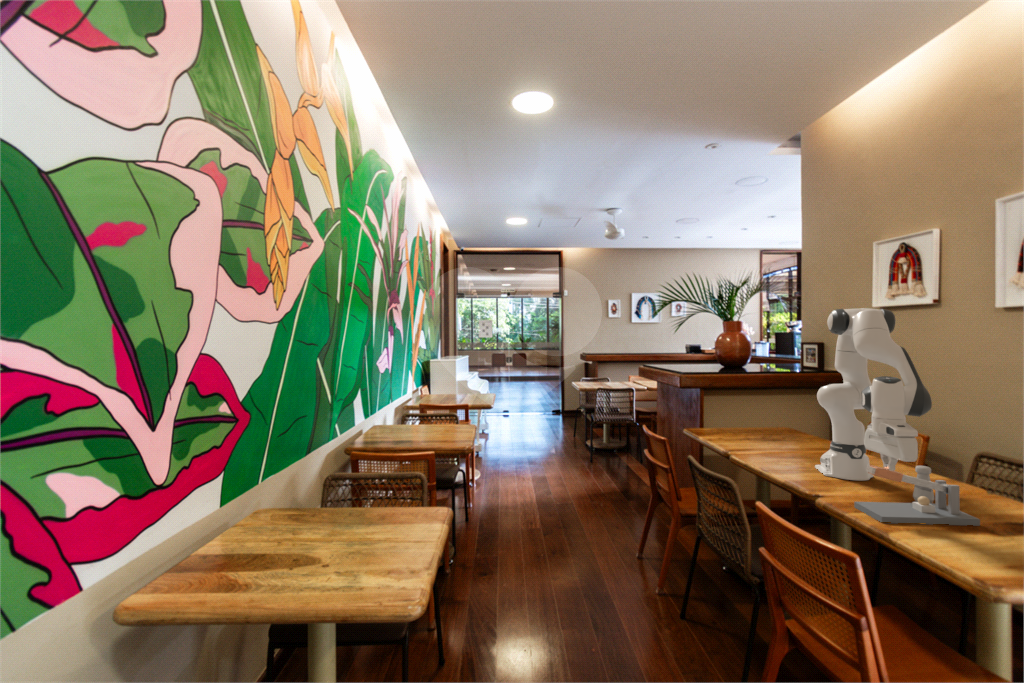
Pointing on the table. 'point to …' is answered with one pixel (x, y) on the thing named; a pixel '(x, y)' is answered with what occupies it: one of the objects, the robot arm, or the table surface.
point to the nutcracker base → (913, 514)
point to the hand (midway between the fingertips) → (889, 469)
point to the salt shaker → (923, 474)
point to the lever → (906, 479)
